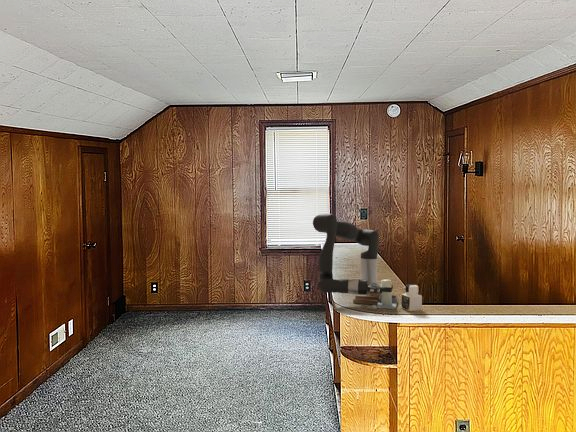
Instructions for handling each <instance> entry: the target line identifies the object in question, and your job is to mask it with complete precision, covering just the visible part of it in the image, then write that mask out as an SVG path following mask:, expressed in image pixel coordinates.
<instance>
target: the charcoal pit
mask: <svg viewBox="0 0 576 432" xmlns="http://www.w3.org/2000/svg"><path fill="white" fill-rule="evenodd" d="M378 297H379V301H378V302H380V303H382V301H381V294H379V296H378ZM397 302H398V295H393V294H392V303H397ZM397 304H398V303H397Z"/></svg>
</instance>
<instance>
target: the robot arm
mask: <svg viewBox="0 0 576 432" xmlns="http://www.w3.org/2000/svg"><path fill="white" fill-rule="evenodd" d="M312 225H313V228H314V230H315V231H317V232H319V233H324V234H326V238H325V242H324V244H323V246H322V248H321V251H320V253H319V254H318V255H319V256H318V272H319V280H318V282H317V289H318V290H319V291H320V292H321V293H324V294H325V293H338V294H348V295H357V296H368V293H370V294H381V293H382V292H393V289H394V288H393V287H394V286H393V284H391V287H392V288H391V287H381V282H378V255H379V247H380V246H379V245H380V236H379V232H378V231H377V230H374V229H365V228H363V229H361V228H358V227H357V226H356V225H355V224H354V223H351V222H349V221H345V220H338V219H337V217H336V215H335V214H333V213H324V214H320V213H319V214H317V215H316V216H315V217H314V218H313V220H312ZM336 237H337V238H341V239H343V240H346V241H351V242H355V243H356V244H359V245H361V246H363V247H364V246H365V247H368V249H367V250H366V251H363V252H361V253H360V278H357V279H356V278H355V279H353V278H351V279H349V278H348V279H345V278H341V279H340V278H339V279H335V278H334V276H333V270H334V269H333V265H334V263H333V261H334V260H333V259H334V258H333V257H334V247H335V242H336Z"/></svg>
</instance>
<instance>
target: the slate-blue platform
mask: <svg viewBox="0 0 576 432" xmlns="http://www.w3.org/2000/svg"><path fill="white" fill-rule="evenodd" d="M397 304H398V303H392V305H390V306H384V305H382V303H380V302H379V301H378V302H377V304H376V308H377V309H390V310H396V309H397Z"/></svg>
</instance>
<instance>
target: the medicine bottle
mask: <svg viewBox="0 0 576 432" xmlns="http://www.w3.org/2000/svg"><path fill="white" fill-rule="evenodd" d="M422 304H423V296H422V295H421V294H419V285H417V284H416V283H415V284H414V283H413V284H411V283H410V284H409V283H408V284H406V285H405V293H401V309H403V310H404V311H407V312H415V311H416V312H417V311H422V310H423V305H422Z"/></svg>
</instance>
